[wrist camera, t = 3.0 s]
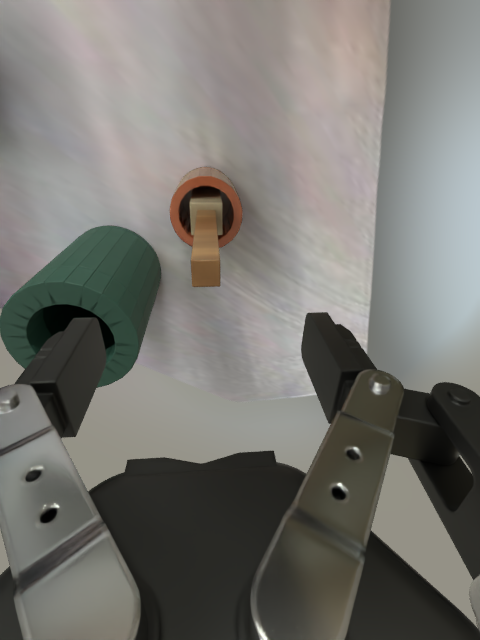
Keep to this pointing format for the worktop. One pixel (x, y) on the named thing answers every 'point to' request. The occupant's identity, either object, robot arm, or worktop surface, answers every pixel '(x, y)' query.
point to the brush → (205, 236)
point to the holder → (229, 204)
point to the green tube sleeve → (88, 298)
